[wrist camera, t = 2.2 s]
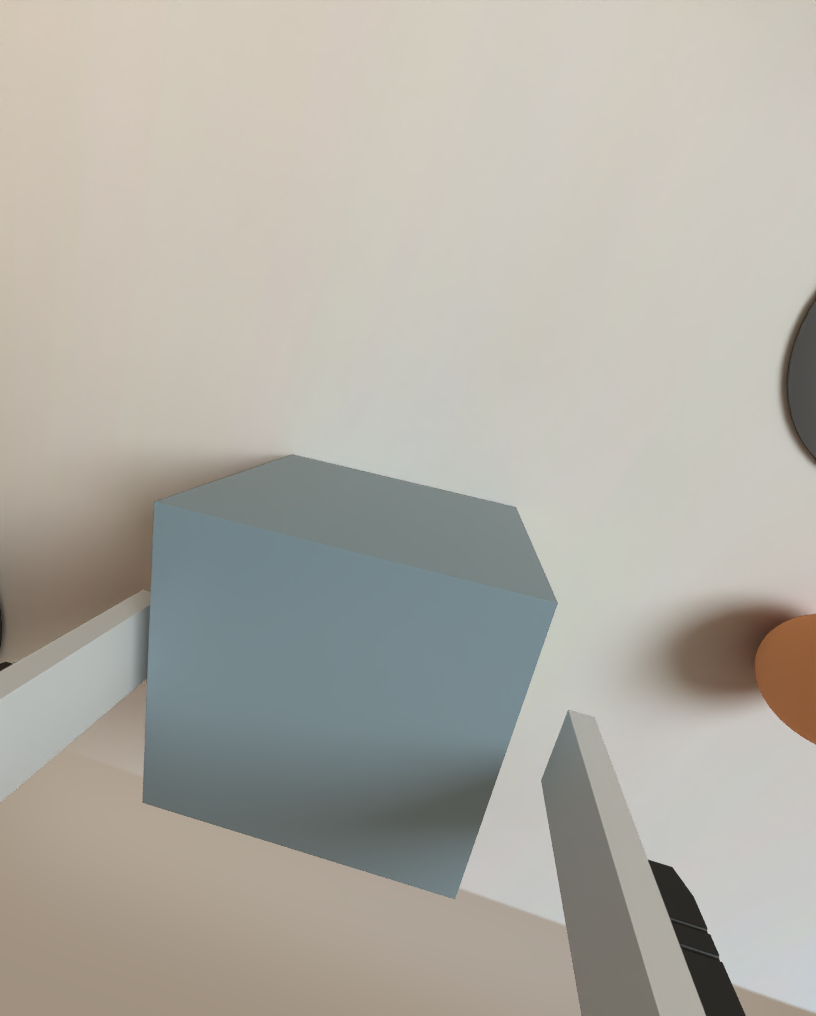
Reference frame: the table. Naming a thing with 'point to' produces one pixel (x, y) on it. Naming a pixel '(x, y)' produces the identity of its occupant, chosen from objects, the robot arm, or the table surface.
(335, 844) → the blue-grey block
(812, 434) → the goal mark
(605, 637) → the table surface
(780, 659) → the brown egg
